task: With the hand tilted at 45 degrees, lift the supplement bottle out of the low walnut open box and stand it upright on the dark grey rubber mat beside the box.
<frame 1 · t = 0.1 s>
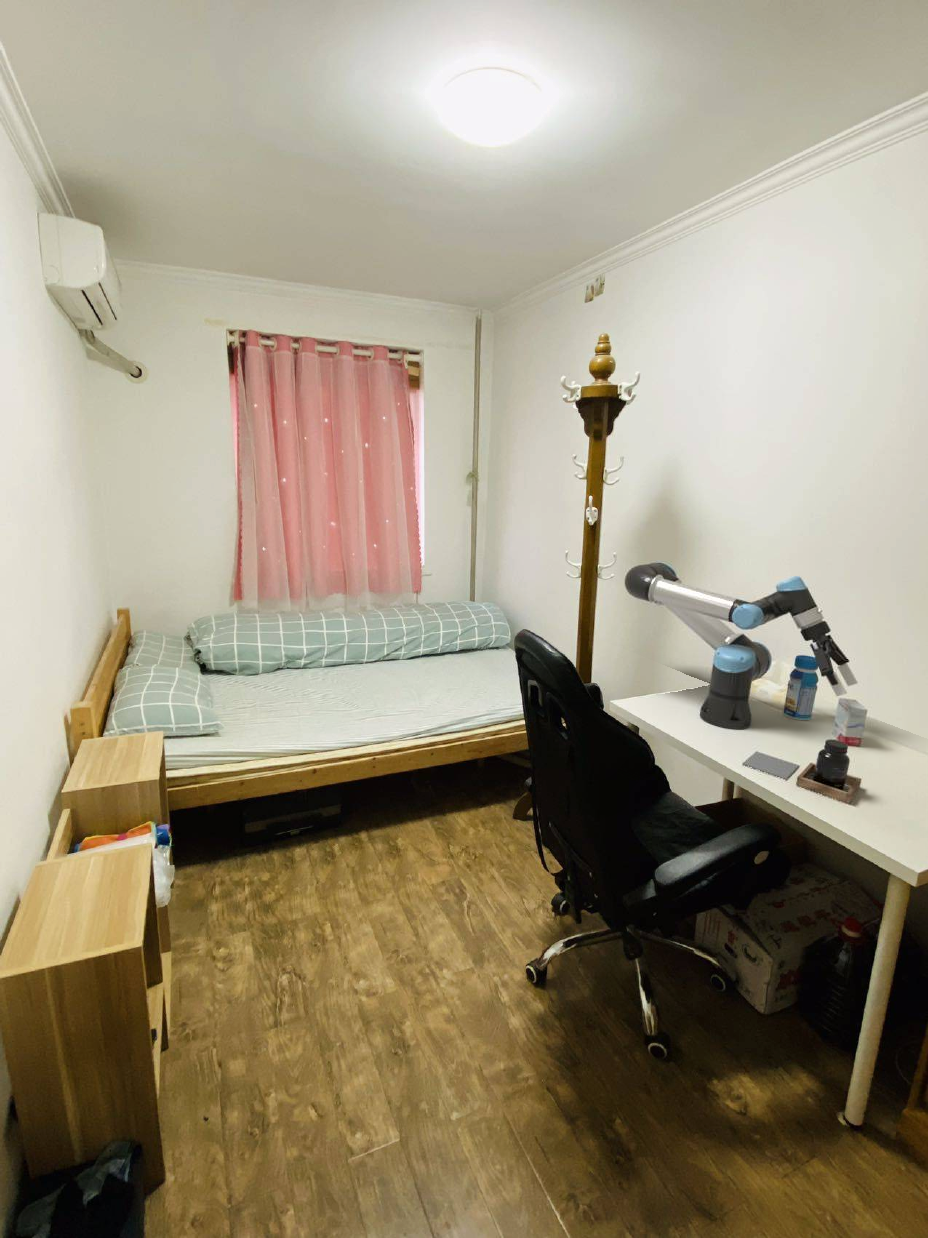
hand: (847, 689, 179), 15 cm above the table, tool tilted 35°, fingers open, 13 cm apart
walnut open box: (827, 786, 152), on the table
grey rubber mat: (770, 765, 162), on the table
ink box: (845, 740, 181), on the table
supplement bottle: (827, 787, 152), resting in walnut open box
beverage bottle: (796, 716, 198), on the table
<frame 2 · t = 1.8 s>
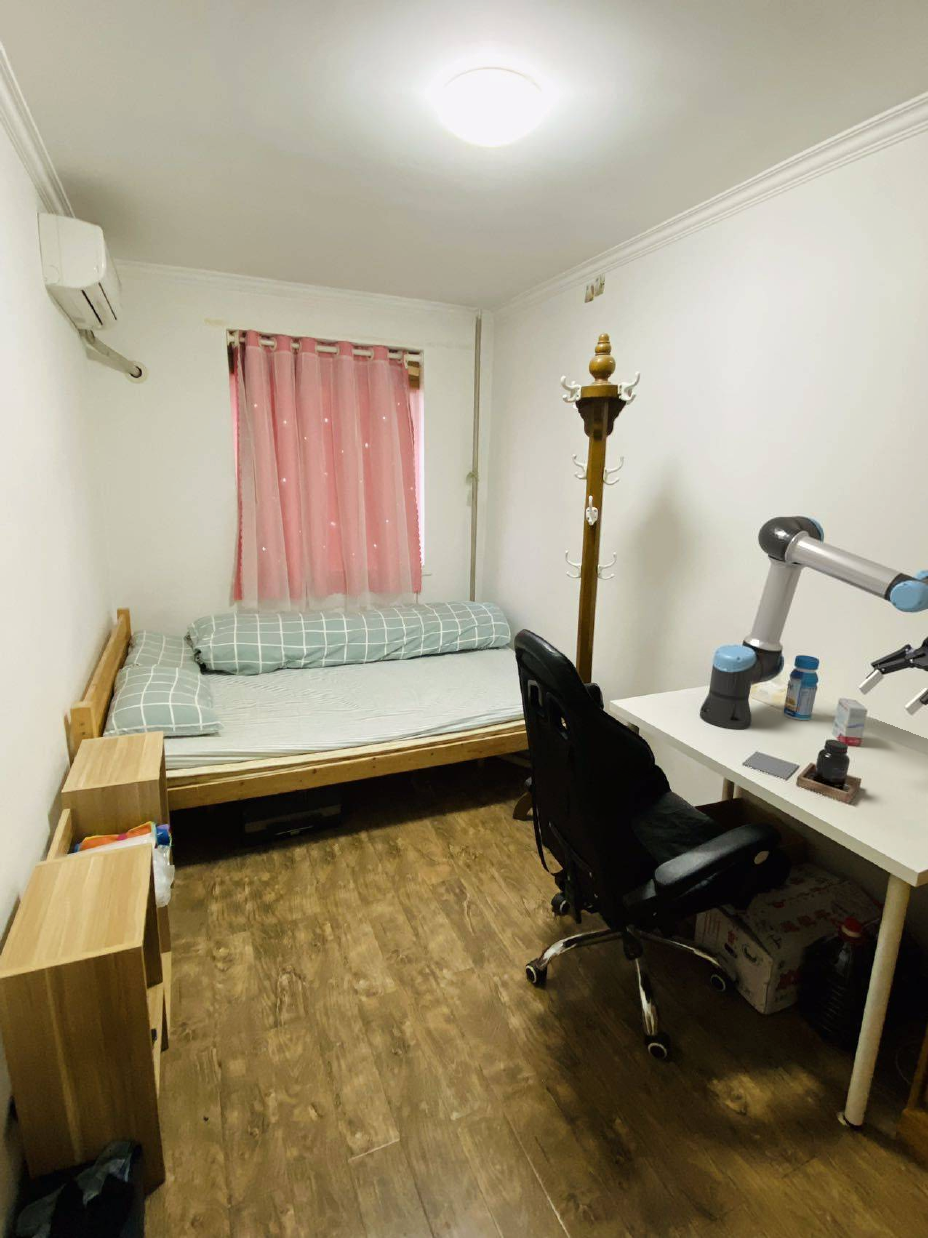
hand: (883, 700, 148), 23 cm above the table, tool tilted 45°, fingers open, 13 cm apart
nothing on the table moved.
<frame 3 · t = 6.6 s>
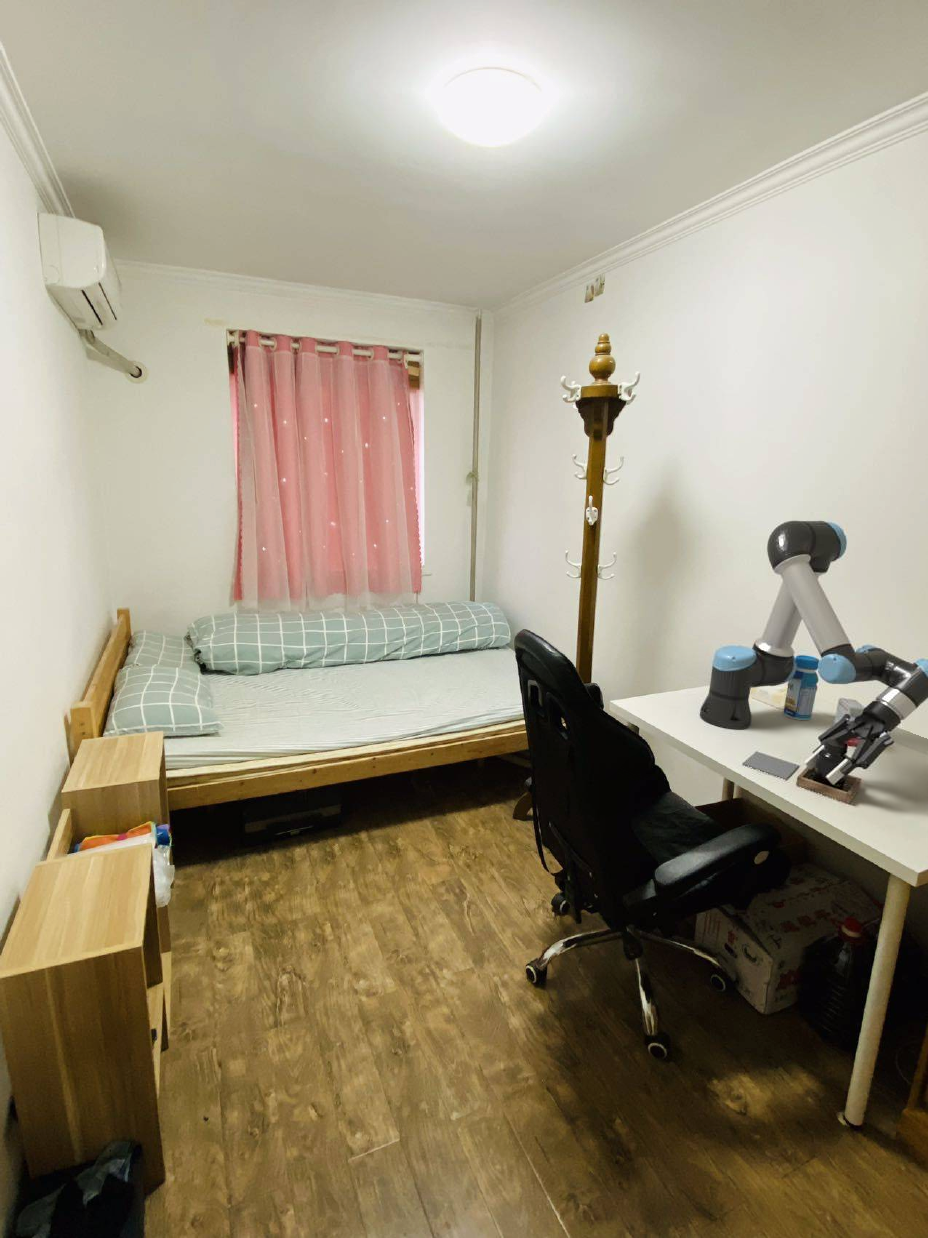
hand: (818, 773, 150), 4 cm above the table, tool tilted 45°, fingers closed on supplement bottle, 7 cm apart
supplement bottle: (827, 787, 152), resting in walnut open box, touching gripper
everything else where it was.
when the fingers open (6 cm above the table, at t = 12.0 s): supplement bottle drops 1 cm, resting on grey rubber mat.
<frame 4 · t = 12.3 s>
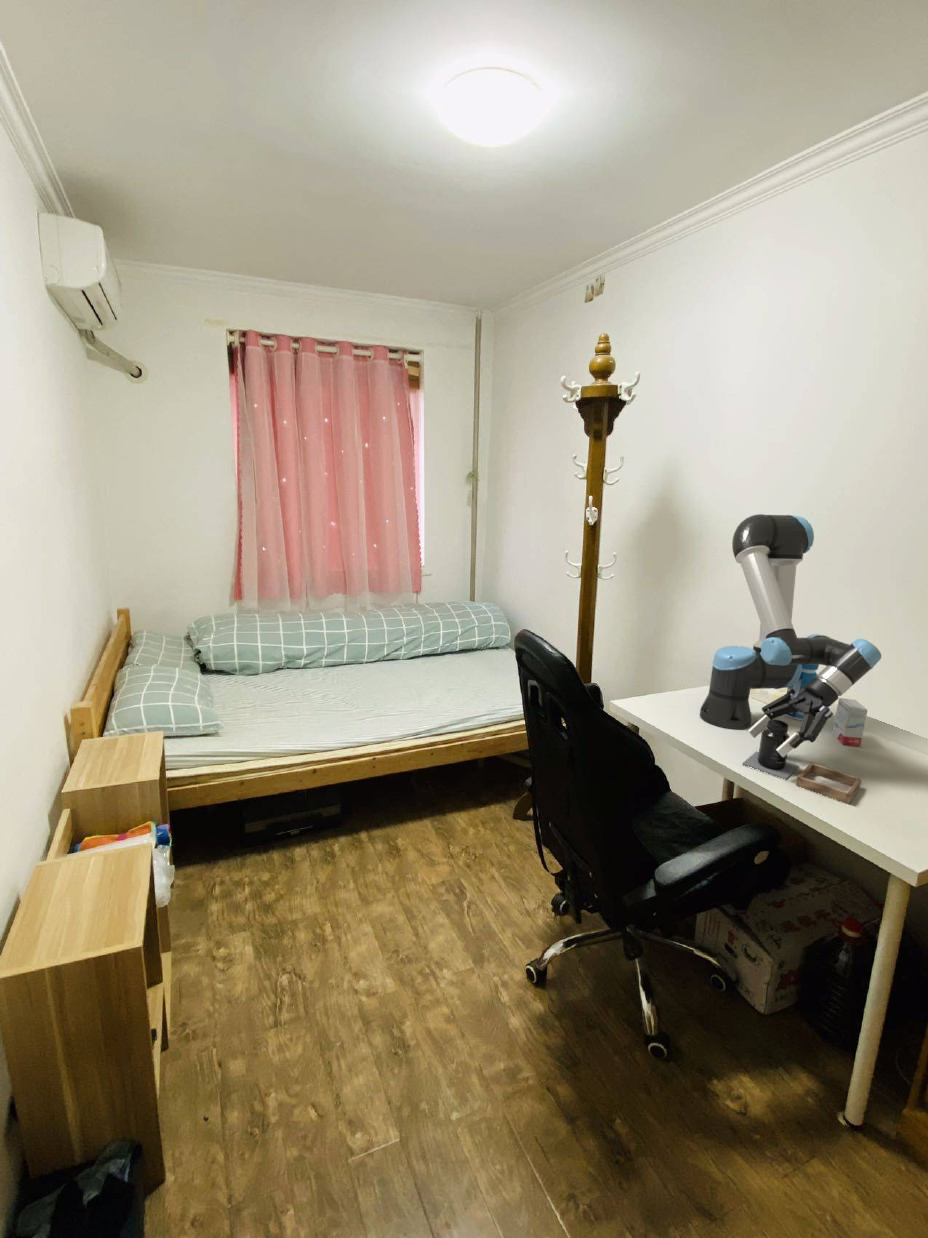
hand: (764, 743, 160), 7 cm above the table, tool tilted 45°, fingers open, 11 cm apart
supplement bottle: (770, 765, 162), resting on grey rubber mat
everything else where it was.
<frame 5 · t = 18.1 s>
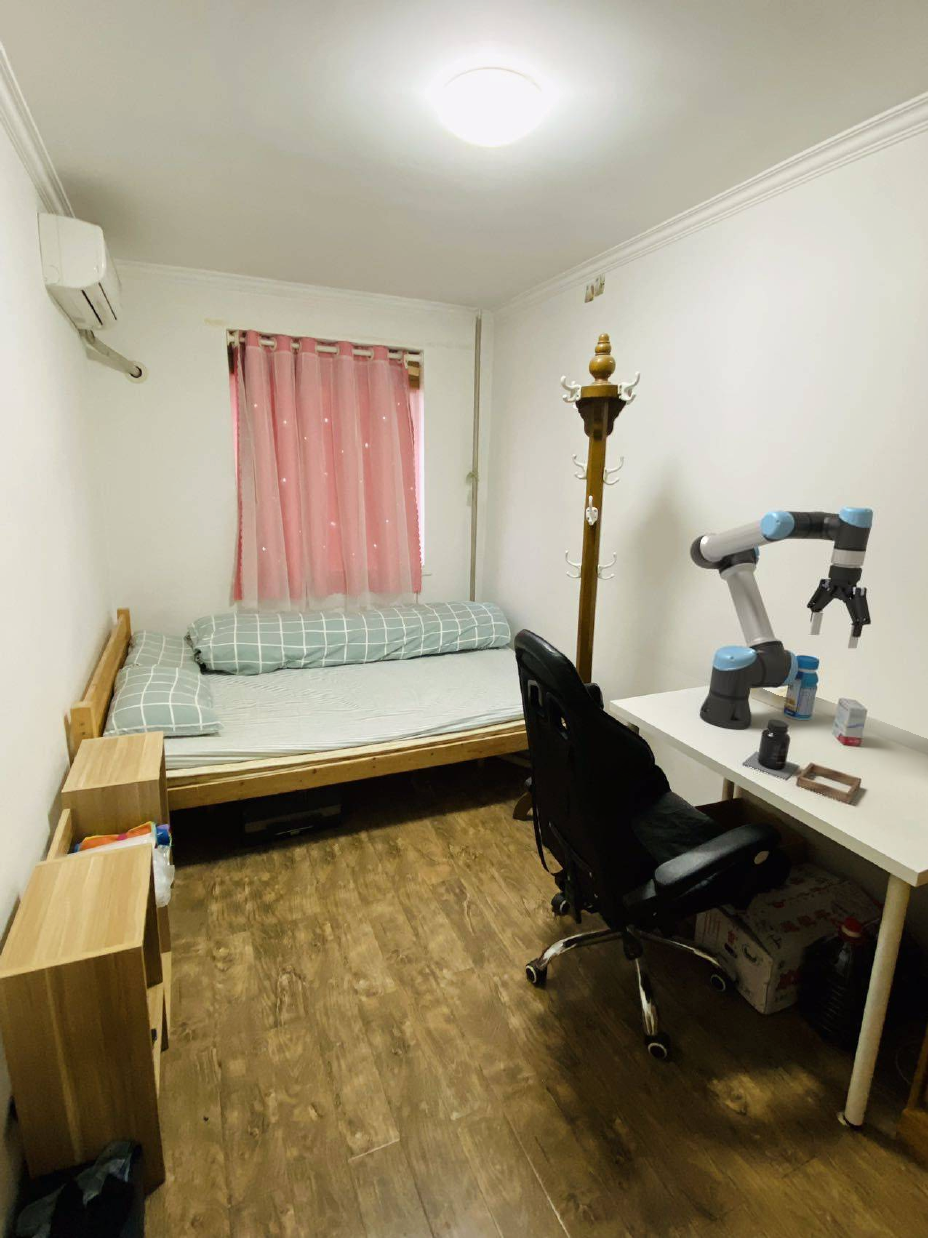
hand: (831, 641, 168), 32 cm above the table, tool pointing down, fingers open, 13 cm apart
nothing on the table moved.
at the end: supplement bottle inside the target area on the grey rubber mat (0.1 cm from its centre), point 0.2 cm above the grey rubber mat's base; supplement bottle tilted 0°; the gripper is holding nothing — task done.
